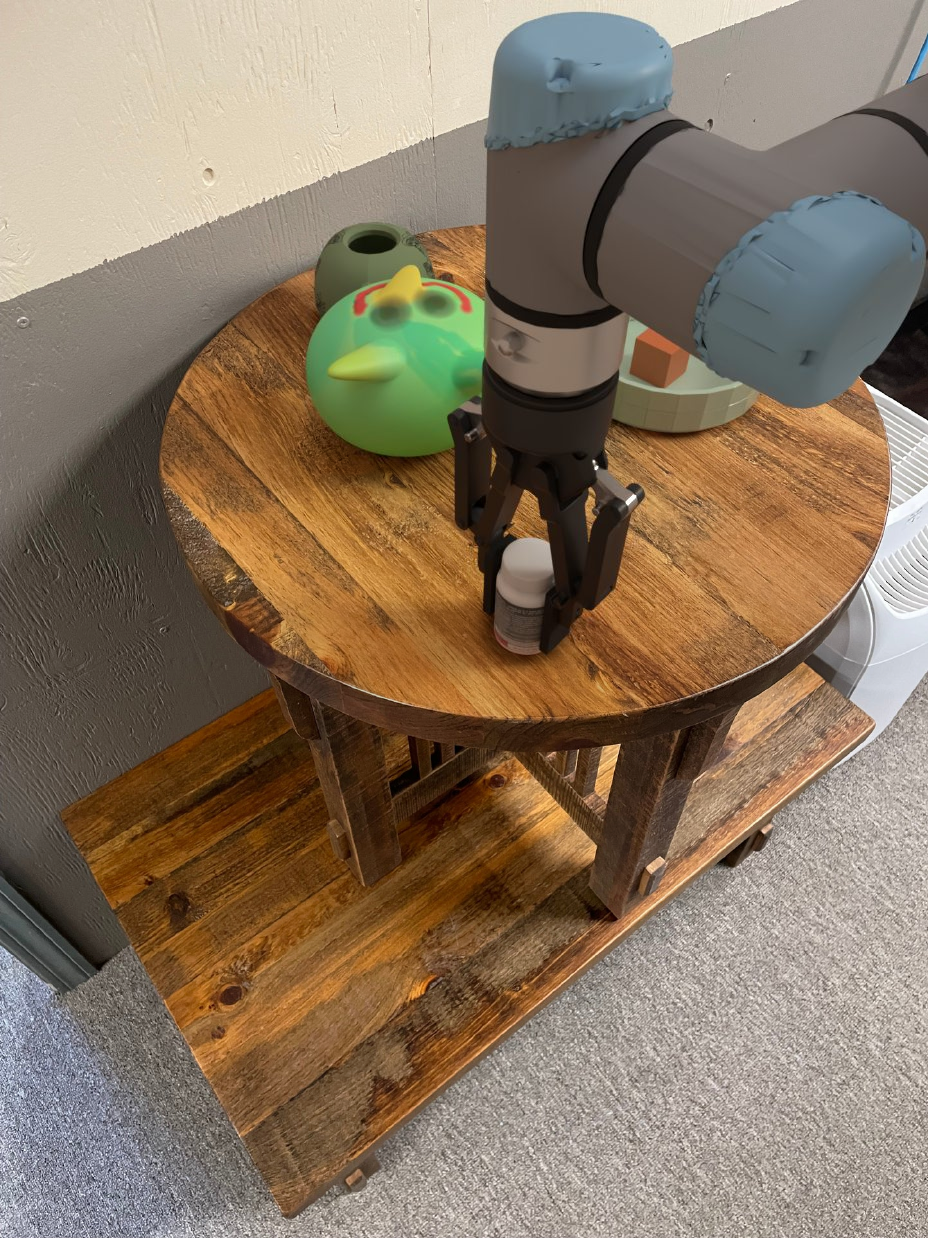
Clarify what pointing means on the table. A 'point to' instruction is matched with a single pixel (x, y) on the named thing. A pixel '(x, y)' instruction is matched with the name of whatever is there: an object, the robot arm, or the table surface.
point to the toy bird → (397, 363)
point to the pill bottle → (522, 594)
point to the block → (657, 359)
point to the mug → (365, 260)
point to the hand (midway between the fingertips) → (525, 621)
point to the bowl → (678, 396)
